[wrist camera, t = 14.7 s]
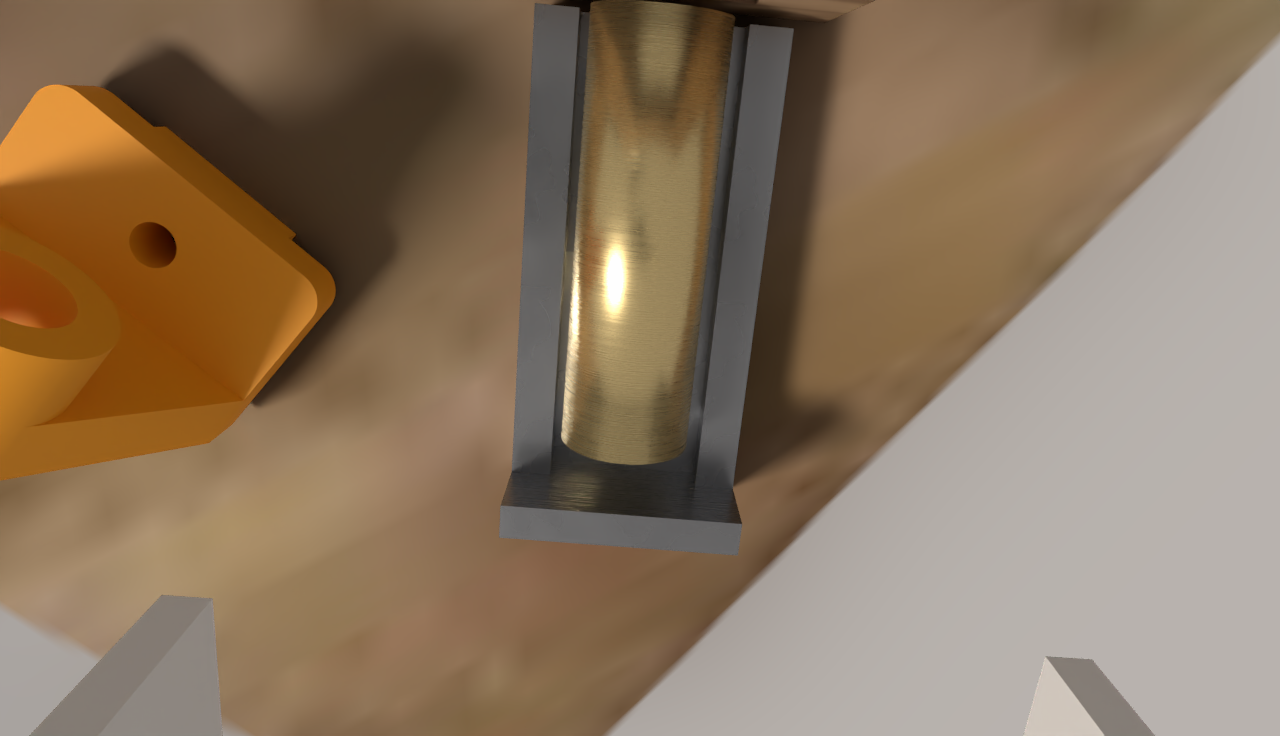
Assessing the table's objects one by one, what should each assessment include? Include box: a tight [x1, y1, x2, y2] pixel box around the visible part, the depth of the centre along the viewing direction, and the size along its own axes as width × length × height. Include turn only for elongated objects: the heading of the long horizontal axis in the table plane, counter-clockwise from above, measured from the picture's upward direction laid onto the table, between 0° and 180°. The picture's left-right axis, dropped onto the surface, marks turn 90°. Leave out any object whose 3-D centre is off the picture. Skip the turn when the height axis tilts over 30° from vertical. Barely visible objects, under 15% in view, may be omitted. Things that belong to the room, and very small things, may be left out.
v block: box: [499, 3, 794, 555], centre depth 29 cm, size 17×8×5 cm, turn 175°
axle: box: [561, 0, 735, 465], centre depth 28 cm, size 14×4×4 cm, turn 175°
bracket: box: [0, 85, 336, 480], centre depth 25 cm, size 11×7×12 cm, turn 47°
